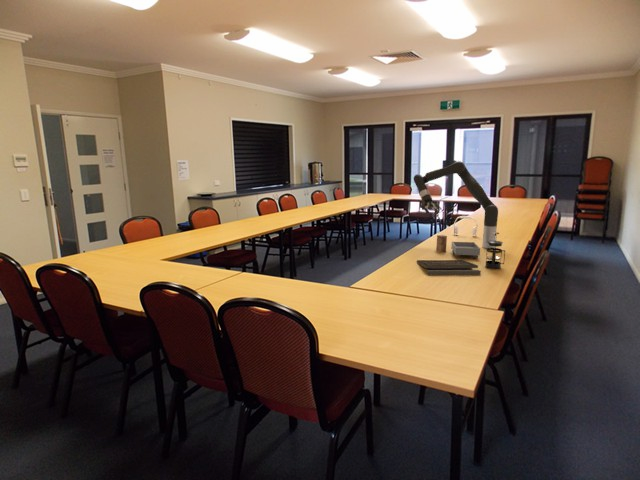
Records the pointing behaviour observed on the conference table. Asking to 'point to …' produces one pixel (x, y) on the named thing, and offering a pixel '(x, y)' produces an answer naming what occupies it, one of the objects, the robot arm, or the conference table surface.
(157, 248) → the conference table surface
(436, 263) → the shutter
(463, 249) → the shallow gray tray
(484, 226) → the robot arm
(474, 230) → the headset
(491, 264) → the french press
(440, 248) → the walnut block
